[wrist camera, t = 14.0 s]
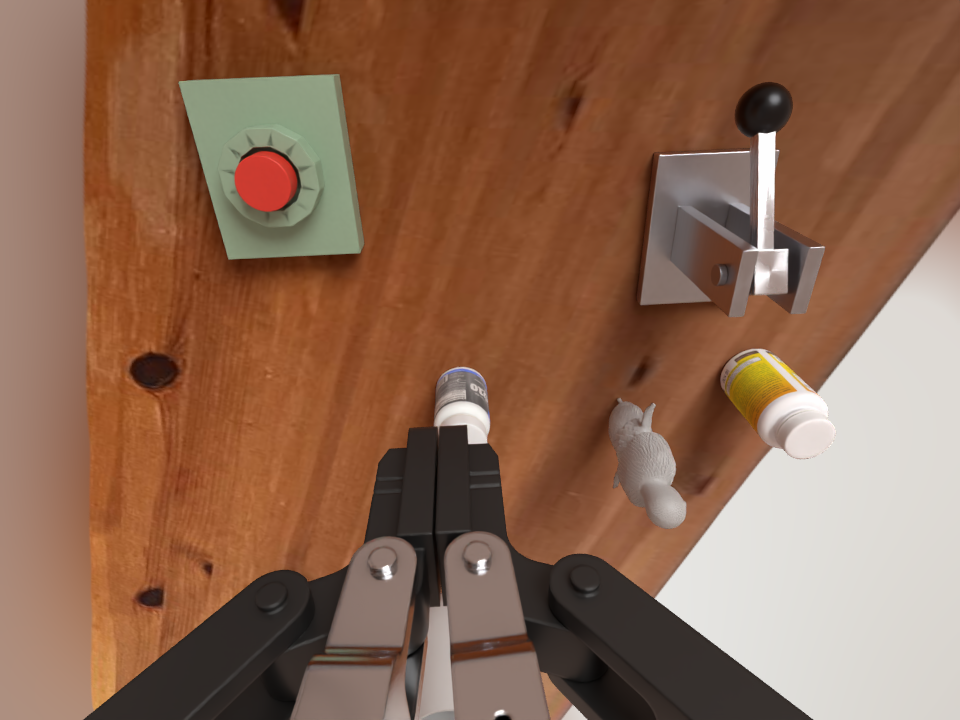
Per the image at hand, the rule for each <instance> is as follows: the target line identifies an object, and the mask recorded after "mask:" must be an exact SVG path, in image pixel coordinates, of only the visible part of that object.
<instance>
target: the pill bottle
mask: <svg viewBox="0 0 960 720" xmlns="http://www.w3.org/2000/svg"><path fill="white" fill-rule="evenodd" d="M452 425H467V430H468V444H483V443H487V435H488V433H489V429H490V416H489V407H488V397H487V387H486V383H485V380H484V378H483V377H482V376H481V374H480V373H478V372H477V371H475V370H473V369H471V368H467V367H457V368H453V369H450V370H448V371H446V372H445V373H443V374H442V375H441V377H440V378H439V380H438V382H437V386H436V398H435V415H434V427H435V426H437V427H438V433H439V427H440V426H452Z"/></svg>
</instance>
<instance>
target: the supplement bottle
mask: <svg viewBox="0 0 960 720" xmlns="http://www.w3.org/2000/svg"><path fill="white" fill-rule="evenodd" d="M720 382H721V387H722V389H723V391H724V392H725V394H726V395H727V396H728V398H729V399H730V400H731V401H732V403H733V404H734V405H735V406H736V408H737V409H738V410H739V411H740V413H741V414H742V415H743V416H744V418H745V419H746V420H747V421H748V422H749V424H750V425H751V426H752V427H753V429H754V430H755V431H756V432H757V434H758V435H759V436H760V437H761V438H762V440H763V441H764V442H765V443H767V444H768V445H770V446H772V447H775V448H781V449H784V451H786V453H787V454H788V455H789V456H791V457H793V458H796V459H808V458H812V457H815V456H817V455H819V454H821V453H823V452H824V451H825V450H827V449H828V448H829V446H830V445H831V444H832V443H833V441H834V439H835V436H836V430H835V427H834V426H833V424H832V423H831V422H830V421H829V420H828V408H827V405H826V403H825V402H824V400H823V399H822V398H821V397H820V396H819V395H818V394H817V393H816V392H815V391H814V390H812V389H811V388H810V387H809V386H808V385H807V384H806V383H805V382H804V381H803V380H802V379H801V378H800V377H799V376H797V375H796V374H795V373H794V372H793V371H792V370H791V369H790V368H789V367H788V366H787V365H786V364H785V363H783V362H782V361H781V360H780V359H779V358H778V357H777V356H776V355H774V354H773V353H772V352H770V351H767V350H764V349H750V350H746V351H743V352H741V353H739V354H737V355H736V356H734V357H733V358H732V359H731V360H730V361H729V362H728V363H727V364H726V365H725V367H724V369H723V371H722V373H721V378H720Z"/></svg>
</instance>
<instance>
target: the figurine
mask: <svg viewBox="0 0 960 720" xmlns="http://www.w3.org/2000/svg"><path fill="white" fill-rule="evenodd" d="M617 401H618V403H619V404H618V405H617V406H616V407H615V408H614V409H613V410H612V413H611V415H610V417H609V437H610V440H611V442H612V445H613V447H614V449H615V451H616V452H617V453H616V455H617V457H618V462H619V465H618V468H617V470H618V471H617V472H616V474H615V477H614V485H613V488H615V487H617V486H618V484H619V482H620V483H621V485H622V488H623V489H624V491H625V493H626V495H627V497H628V498H629V500H630V501H631V502H632V503H633V504H634V505H636V506H638V507H645V508H646V512H647V515H648V517H649V519H650V520H651V521H652V522H653V523H654V524H655V525H657V526H659V527H661V528H665V529H671V528H675V527H677V526H679V525H680V524H681V523H682V522H683V521H684V519H685V516H686V502H684V501H683V499H682V498H681V496H680V494H679V493H678V492H677V491H676V490H675V489H674V488H673V487H671V484H672V482H673V478H674V476H675V474H676V473H675V472H676V468H675V467H676V463H675V461H674V457H673V456H672V453H671V450H670V447H669V445H668V443H667V442H666V440H664V438H663V437H662V436H661V435H659V434H658V433H654V432H652V429H651V422H652V420H651V418H652V413H653V411H654V408H655V406H656V405H655V404H654V403H651V405H650V406H648V407H647V408H646V410H645V412H644V413H643V412H642V410H641V409H640V408H639V407H638V406H636V405H634V404H632V403H630V402H622V400H621V399H620V398H618V399H617Z"/></svg>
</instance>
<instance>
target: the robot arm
mask: <svg viewBox="0 0 960 720" xmlns="http://www.w3.org/2000/svg"><path fill="white" fill-rule="evenodd" d="M441 589H442V599H443V606H447V611H448V624H449V638H450V661H451V675H452V689H453V703H454V717H455V720H550V715H549V710H548V706H547V701H546V696H545V692H544V687H543V683H542V678H541V673H540V671H541V672H544V673H547V674H548V676H549V678H550V680H551V681H552V683H553V684H554V685H555V686H556V687H557V688H558V689H559V691H560V692H561V693H562V694H563V695H564V696H565V697H566V698H567V699H568V700H569V701H570V702H571V703H572V704H573V705H574V706H575V707H576V708H577V709H578V710H579V711H580V712H581V713H582V714H583V715H584V716H585V717H586V718H587V719H588V720H813V719H811V718H810V717H809V716H808V715H806V714H805V713H804V712H802V711H801V710H800V709H798V708H797V707H796V706H795V705H793V704H792V703H791V702H789V701H788V700H787V699H785V698H784V697H783V696H781V695H780V694H779V693H777V692H776V691H775V690H774V689H772V688H771V687H770V686H768V685H767V684H766V683H764V682H763V681H762V680H760V679H759V678H758V677H757V676H755V675H754V674H753V673H751V672H750V671H749V670H747V669H746V668H745V667H743V666H742V665H741V664H739V663H738V662H737V661H735V660H734V659H733V658H732V657H730V656H729V655H728V654H726V653H725V652H724V651H722V650H721V649H720V648H718V647H717V646H716V645H714V644H713V643H712V642H711V641H709V640H708V639H707V638H705V637H704V636H703V635H701V634H700V633H699V632H697V631H696V630H695V629H693V628H692V627H691V626H690V625H688V624H687V623H685V622H684V621H683V620H682V619H680V618H679V617H678V616H676V615H675V614H674V613H672V612H671V611H670V610H668V609H667V608H666V607H665V606H663V605H662V604H661V603H659V602H658V601H657V600H655V599H654V598H653V597H651V596H650V595H649V594H647V593H646V592H645V591H644V590H642V589H641V588H640V587H638V586H637V585H636V584H634V583H633V582H632V581H630V580H629V579H628V578H626V577H625V576H624V575H623V574H621V573H620V572H619V571H617V570H616V569H615V568H613V567H612V566H611V565H609V564H608V563H607V562H605V561H604V560H602V559H600V558H598V557H595V556H592V555H588V554H572V555H568V556H566V557H563V558H562V559H560V560H559V561H558V562H557V563H556V564H555V565H549V564H545V563H541V562H537V561H533V560H531V559H528V558H526V557H524V556H523V555H521V554H520V553H519V552H517V551H516V550H515V549H514V548H513V546H512V545H511V543H510V542H509V540H508V537H507V532H506V524H505V515H504V506H503V497H502V487H501V478H500V469H499V460H498V455H497V454H496V453H495V451H494V450H493V449H492V447H491V446H490V445H489V443H483V444H468V430H467V425H452V426H440V427H439V433H438V427H437V426H435V427H417V428H409V432H408V441H407V448H395V449H389V450H388V451H387V453H386V454H385V455H384V457H383V458H382V459H381V461H380V462H379V464H378V470H377V475H376V482H375V486H374V494H373V497H372V502H371V508H370V513H369V519H368V524H367V530H366V535H365V541H364V545H362V546H361V547H360V548H359V549H358V550H357V551H356V552H355V553H354V555H353V557H352V558H351V561H350V564H349V565H347V566H346V567H344V568H343V569H341V570H339V571H337V572H335V573H333V574H330V575H327V576H324V577H321V578H319V579H316V580H313V581H310V582H308V581H307V580H306V578H305V577H304V576H303V575H301V574H300V573H298V572H295V571H291V570H279V571H274V572H270V573H268V574H265V575H263V576H261V577H259V578H258V579H256V580H255V581H253V582H252V583H251V584H249V585H248V586H247V587H246V588H245V589H243V590H242V591H241V592H240V593H238V594H237V595H236V596H235V597H234V598H232V599H231V600H230V601H229V602H227V603H226V604H225V605H224V606H222V607H221V608H220V609H219V610H218V611H216V612H215V613H214V614H213V615H211V616H210V617H209V618H208V619H206V620H205V621H204V622H203V623H202V624H200V625H199V626H198V627H197V628H195V629H194V630H193V631H192V632H191V633H189V634H188V635H187V636H186V637H184V638H183V639H182V640H181V641H179V642H178V643H177V644H176V645H175V646H173V647H172V648H171V649H170V650H168V651H167V652H166V653H165V654H163V655H162V656H161V657H160V658H159V659H157V660H156V661H155V662H154V663H152V664H151V665H150V666H149V667H148V668H146V669H145V670H144V671H143V672H141V673H140V674H139V675H138V676H136V677H135V678H134V679H133V680H132V681H130V682H129V683H128V684H127V685H125V686H124V687H123V688H122V689H120V690H119V691H118V692H117V693H116V694H114V695H113V696H112V697H111V698H109V699H108V700H107V701H106V702H105V703H103V704H102V705H101V706H100V707H98V708H97V709H96V710H95V711H93V713H91V714H90V715H89V716H87V717H86V718H85V719H84V720H419V713H420V705H421V696H422V688H423V680H424V672H425V663H426V655H427V647H428V635H427V634H428V630H429V613H430V607H440V600H441Z"/></svg>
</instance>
